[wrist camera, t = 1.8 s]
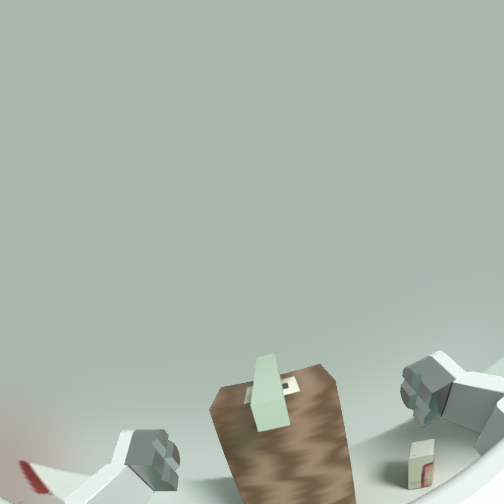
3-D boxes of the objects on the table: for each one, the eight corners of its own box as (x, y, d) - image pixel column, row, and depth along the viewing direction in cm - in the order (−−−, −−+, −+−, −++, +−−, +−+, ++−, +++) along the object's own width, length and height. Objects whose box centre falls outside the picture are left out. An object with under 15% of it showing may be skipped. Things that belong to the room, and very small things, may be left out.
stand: (343, 481, 36) (319, 363, 40) (357, 510, 26) (335, 380, 31) (259, 500, 36) (220, 387, 40) (257, 533, 26) (209, 409, 30)
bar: (278, 369, 43) (274, 353, 44) (290, 424, 22) (283, 397, 22) (261, 374, 43) (256, 357, 44) (258, 431, 22) (250, 404, 22)
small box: (431, 486, 24) (434, 454, 25) (407, 490, 26) (407, 459, 27) (433, 468, 28) (435, 437, 29) (411, 472, 30) (410, 441, 31)
